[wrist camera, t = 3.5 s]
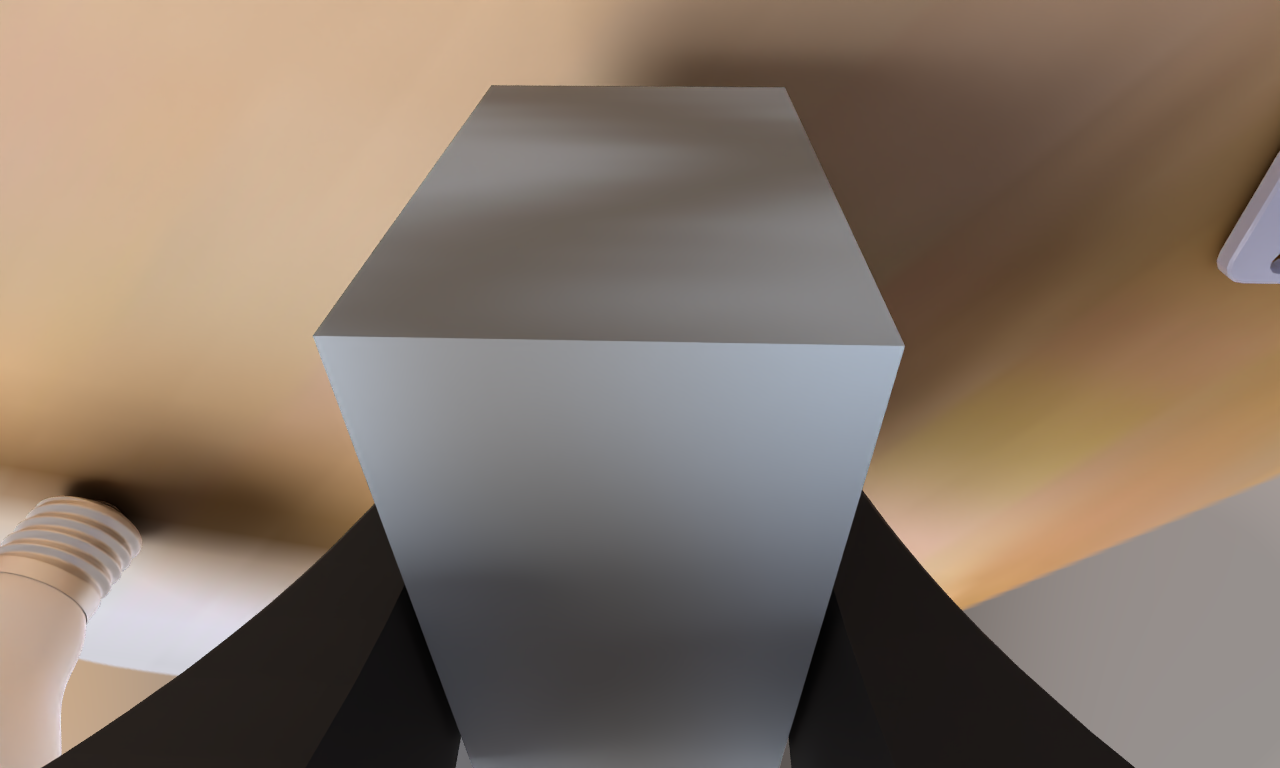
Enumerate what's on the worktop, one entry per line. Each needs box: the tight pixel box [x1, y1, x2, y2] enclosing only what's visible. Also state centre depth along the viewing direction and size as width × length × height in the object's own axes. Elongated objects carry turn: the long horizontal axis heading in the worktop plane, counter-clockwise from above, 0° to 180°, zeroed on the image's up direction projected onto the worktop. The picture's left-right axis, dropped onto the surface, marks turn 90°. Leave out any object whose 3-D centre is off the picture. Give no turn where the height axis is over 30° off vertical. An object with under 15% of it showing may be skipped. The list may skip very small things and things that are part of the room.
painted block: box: [313, 85, 905, 768], centre depth 10 cm, size 4×10×6 cm, turn 0°
